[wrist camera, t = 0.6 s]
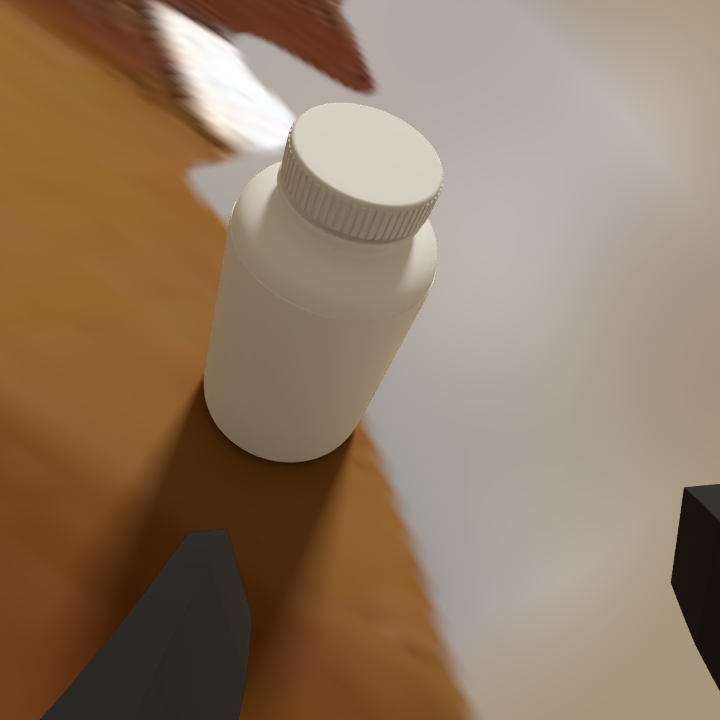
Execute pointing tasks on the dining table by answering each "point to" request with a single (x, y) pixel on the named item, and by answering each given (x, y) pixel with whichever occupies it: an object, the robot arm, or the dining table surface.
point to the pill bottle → (321, 281)
